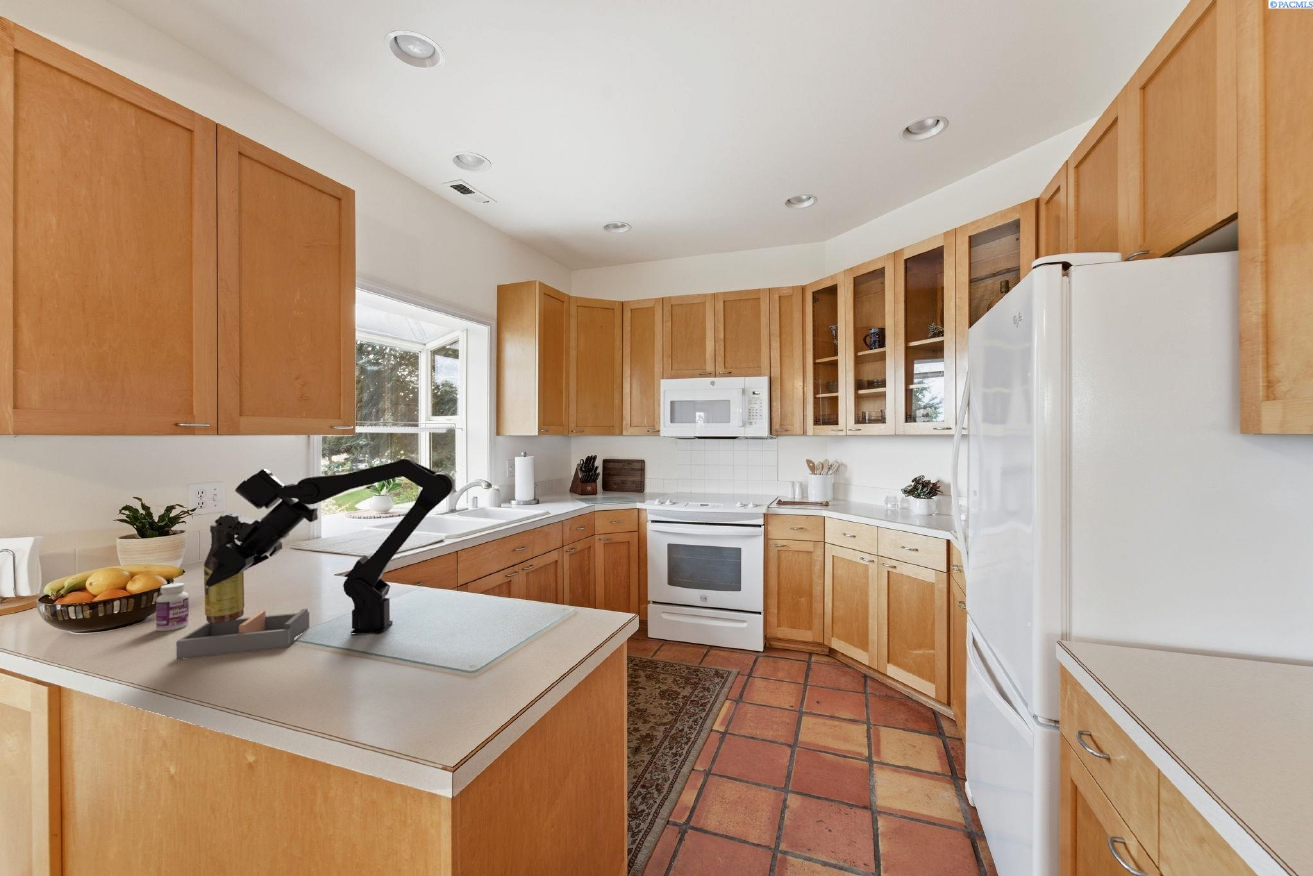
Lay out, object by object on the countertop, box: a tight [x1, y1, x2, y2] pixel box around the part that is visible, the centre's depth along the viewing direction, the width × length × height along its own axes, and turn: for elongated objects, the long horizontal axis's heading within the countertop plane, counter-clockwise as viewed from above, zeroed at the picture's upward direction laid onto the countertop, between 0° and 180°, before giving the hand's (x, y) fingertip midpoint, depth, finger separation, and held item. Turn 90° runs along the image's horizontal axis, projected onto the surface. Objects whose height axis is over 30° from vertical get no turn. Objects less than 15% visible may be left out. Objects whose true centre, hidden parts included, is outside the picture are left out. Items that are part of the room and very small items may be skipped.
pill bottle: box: [155, 582, 190, 632], centre depth 117 cm, size 5×5×10 cm
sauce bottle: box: [203, 523, 245, 623], centre depth 106 cm, size 7×6×20 cm
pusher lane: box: [175, 608, 310, 660], centre depth 107 cm, size 18×12×4 cm, turn 107°
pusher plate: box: [239, 610, 267, 634], centre depth 108 cm, size 1×9×4 cm, turn 17°
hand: (216, 581), depth 106 cm, fingers closed on sauce bottle, 6 cm apart
